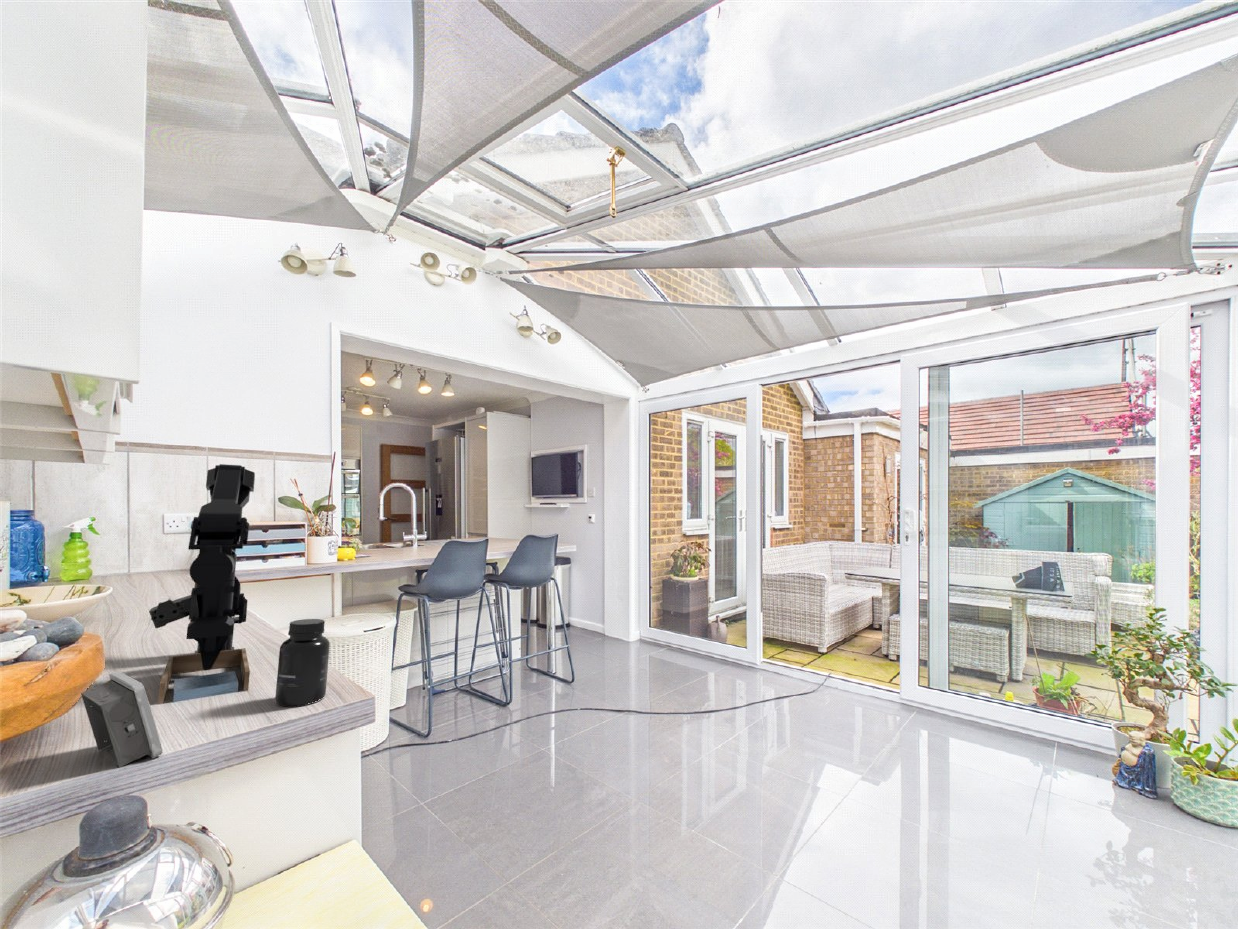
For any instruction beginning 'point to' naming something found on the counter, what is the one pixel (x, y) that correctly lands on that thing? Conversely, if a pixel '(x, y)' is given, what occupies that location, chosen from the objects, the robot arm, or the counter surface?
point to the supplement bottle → (303, 664)
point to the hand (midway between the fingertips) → (207, 669)
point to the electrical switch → (122, 720)
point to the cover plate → (205, 686)
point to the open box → (195, 664)
